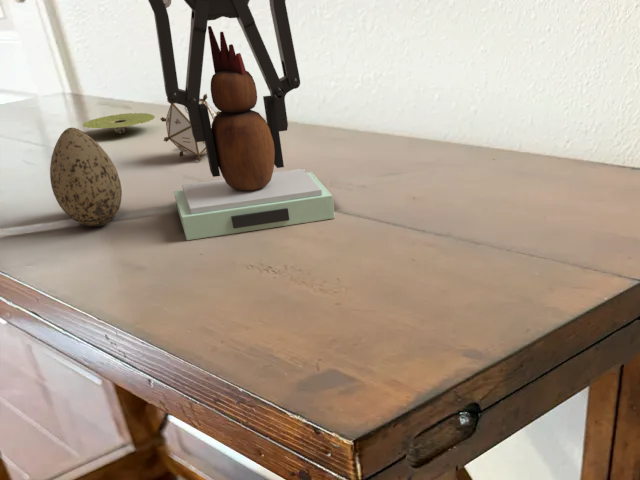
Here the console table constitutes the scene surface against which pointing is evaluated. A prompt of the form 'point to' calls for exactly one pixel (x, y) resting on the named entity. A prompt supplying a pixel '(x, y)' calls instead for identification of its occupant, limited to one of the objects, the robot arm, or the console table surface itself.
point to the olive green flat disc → (119, 121)
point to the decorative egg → (84, 179)
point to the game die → (185, 128)
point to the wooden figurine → (238, 122)
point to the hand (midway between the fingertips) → (246, 168)
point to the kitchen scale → (252, 205)
